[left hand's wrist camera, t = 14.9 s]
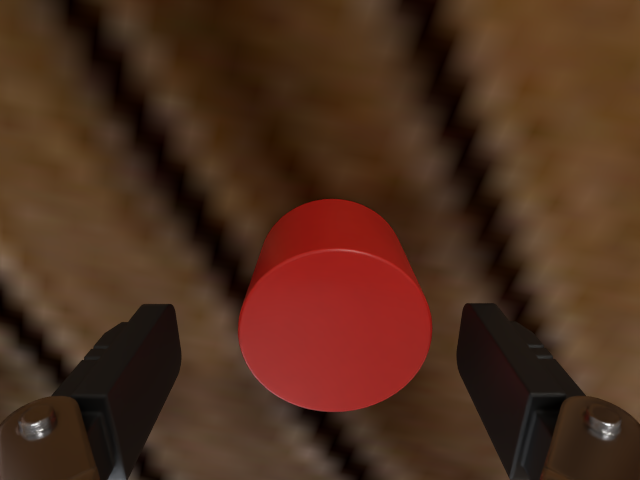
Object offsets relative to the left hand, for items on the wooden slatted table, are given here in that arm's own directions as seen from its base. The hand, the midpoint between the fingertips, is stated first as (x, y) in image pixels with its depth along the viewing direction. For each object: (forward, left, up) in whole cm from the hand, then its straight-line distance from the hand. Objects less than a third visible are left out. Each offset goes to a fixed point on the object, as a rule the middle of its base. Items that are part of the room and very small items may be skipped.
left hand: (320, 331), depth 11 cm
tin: (-1, 0, -3) cm, 3 cm away
